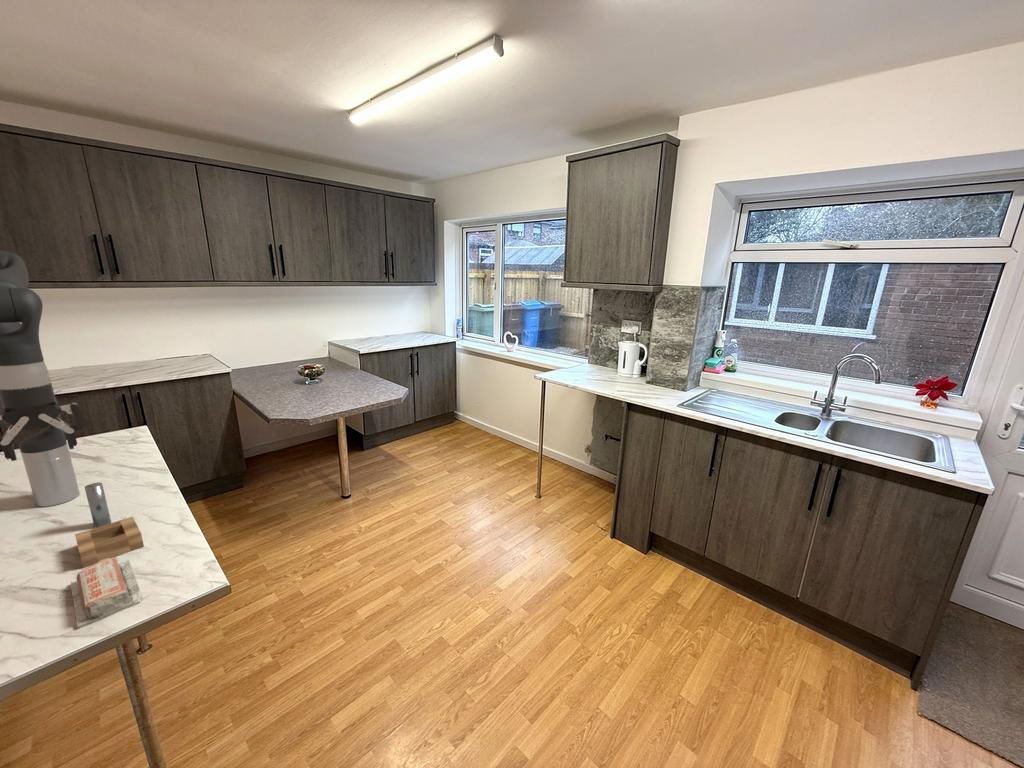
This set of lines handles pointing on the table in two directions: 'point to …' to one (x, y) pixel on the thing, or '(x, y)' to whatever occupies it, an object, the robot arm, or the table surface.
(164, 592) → the table surface
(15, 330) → the robot arm
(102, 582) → the packaged product
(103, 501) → the steel rod
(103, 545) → the wooden frame
